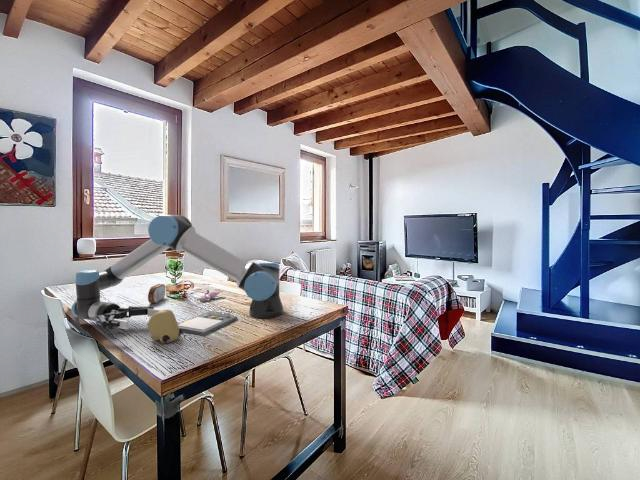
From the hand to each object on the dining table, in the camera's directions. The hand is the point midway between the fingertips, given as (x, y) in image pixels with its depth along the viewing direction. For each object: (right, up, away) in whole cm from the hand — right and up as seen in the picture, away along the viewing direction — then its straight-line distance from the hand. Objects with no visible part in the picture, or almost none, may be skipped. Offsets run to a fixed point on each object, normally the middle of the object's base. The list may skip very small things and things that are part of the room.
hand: (145, 319), depth 113 cm
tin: (-20, -3, +47) cm, 51 cm away
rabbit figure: (+6, -3, +51) cm, 52 cm away
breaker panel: (+17, -5, +13) cm, 22 cm away
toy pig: (+9, -6, -3) cm, 11 cm away
